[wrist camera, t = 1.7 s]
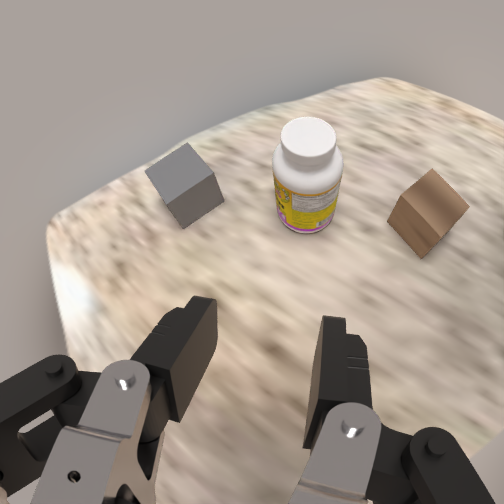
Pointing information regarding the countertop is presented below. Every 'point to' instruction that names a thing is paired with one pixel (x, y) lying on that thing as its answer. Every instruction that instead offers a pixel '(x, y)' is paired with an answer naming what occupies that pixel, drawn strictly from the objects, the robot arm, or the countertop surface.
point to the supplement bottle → (307, 174)
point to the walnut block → (426, 212)
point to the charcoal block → (185, 185)
